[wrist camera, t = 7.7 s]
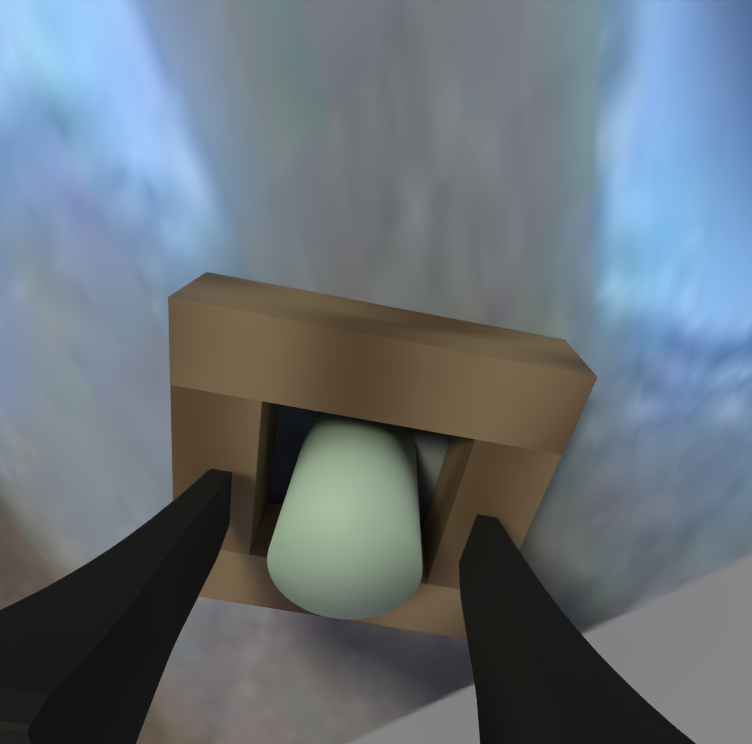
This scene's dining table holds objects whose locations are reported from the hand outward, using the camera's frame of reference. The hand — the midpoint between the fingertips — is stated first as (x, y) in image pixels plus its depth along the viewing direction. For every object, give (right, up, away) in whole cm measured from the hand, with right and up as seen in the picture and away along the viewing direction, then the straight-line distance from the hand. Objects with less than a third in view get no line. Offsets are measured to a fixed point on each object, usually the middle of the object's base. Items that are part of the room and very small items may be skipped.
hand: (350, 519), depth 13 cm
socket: (0, +1, +3) cm, 3 cm away
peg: (0, +1, +3) cm, 3 cm away
